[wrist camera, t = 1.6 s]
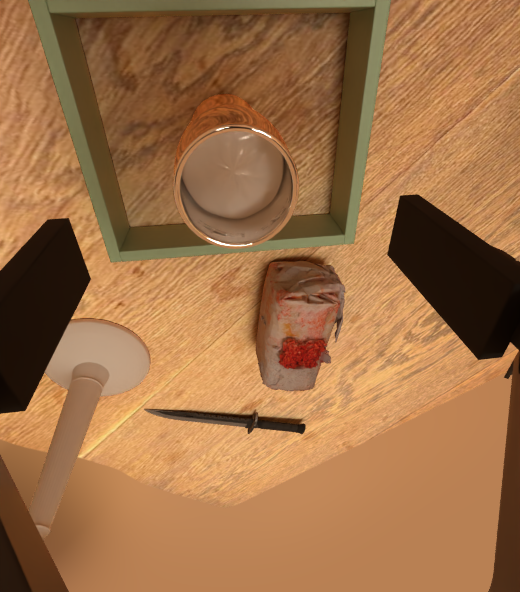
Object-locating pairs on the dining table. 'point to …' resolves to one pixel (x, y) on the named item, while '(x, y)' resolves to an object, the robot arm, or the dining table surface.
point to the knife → (230, 421)
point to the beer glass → (233, 175)
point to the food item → (297, 323)
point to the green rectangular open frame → (156, 3)
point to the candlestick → (84, 398)
